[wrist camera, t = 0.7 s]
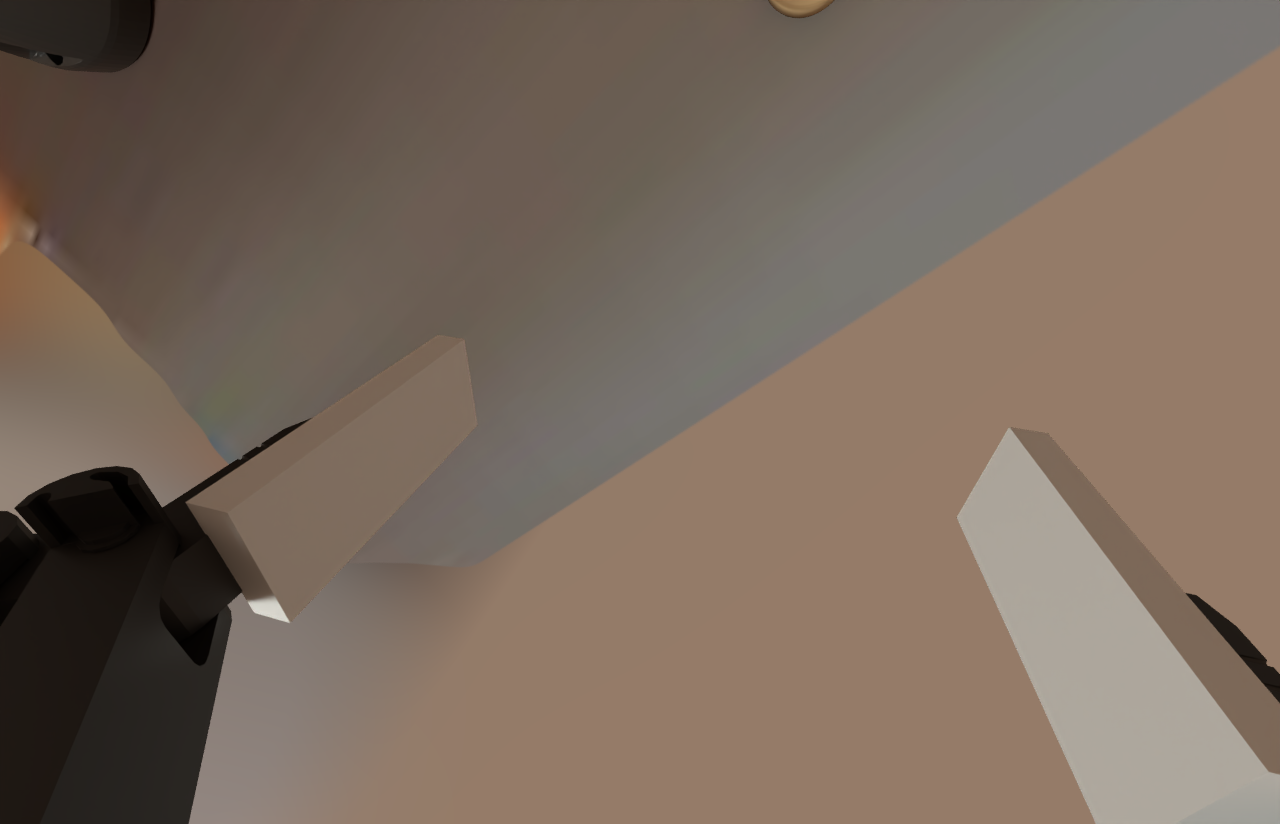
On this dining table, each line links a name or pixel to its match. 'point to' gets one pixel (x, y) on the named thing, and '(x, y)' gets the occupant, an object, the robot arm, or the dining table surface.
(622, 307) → the dining table surface
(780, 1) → the bead
